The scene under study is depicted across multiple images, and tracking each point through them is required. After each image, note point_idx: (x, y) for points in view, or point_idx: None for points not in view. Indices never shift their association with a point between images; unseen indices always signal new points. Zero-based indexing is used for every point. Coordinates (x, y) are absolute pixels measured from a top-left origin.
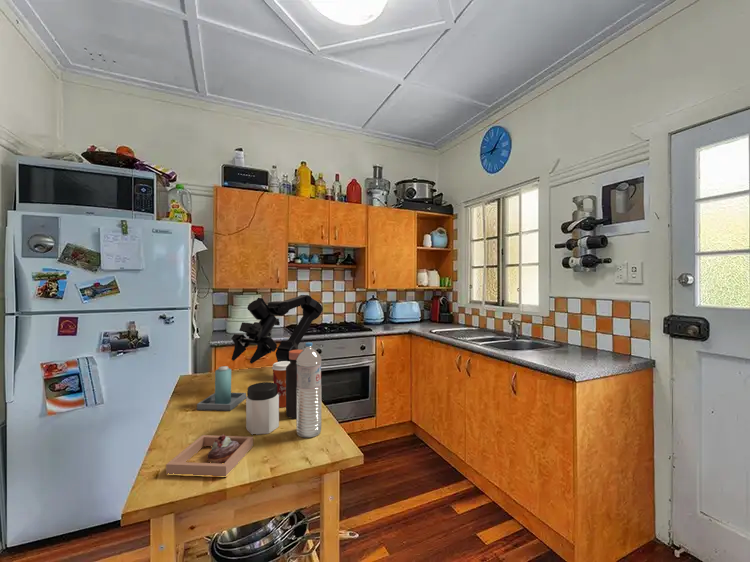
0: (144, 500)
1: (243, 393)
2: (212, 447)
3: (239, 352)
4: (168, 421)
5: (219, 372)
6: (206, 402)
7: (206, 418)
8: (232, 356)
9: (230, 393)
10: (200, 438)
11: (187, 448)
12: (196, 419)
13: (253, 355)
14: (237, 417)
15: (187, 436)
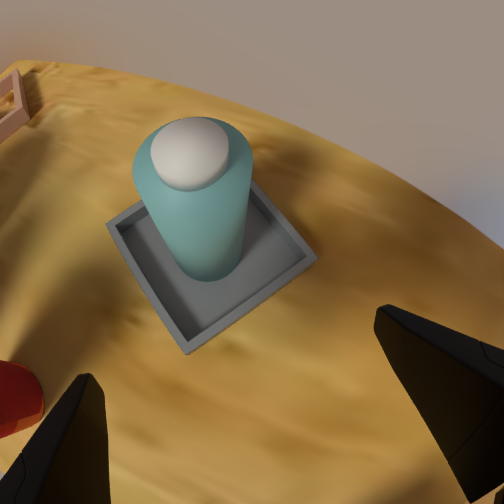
0: (14, 66)
1: (187, 341)
2: None
3: (444, 414)
4: (207, 96)
5: (164, 126)
6: (252, 198)
7: (130, 158)
8: (408, 314)
9: (174, 257)
10: (17, 103)
11: (16, 86)
12: None
13: (52, 431)
14: (53, 223)
15: (83, 105)
